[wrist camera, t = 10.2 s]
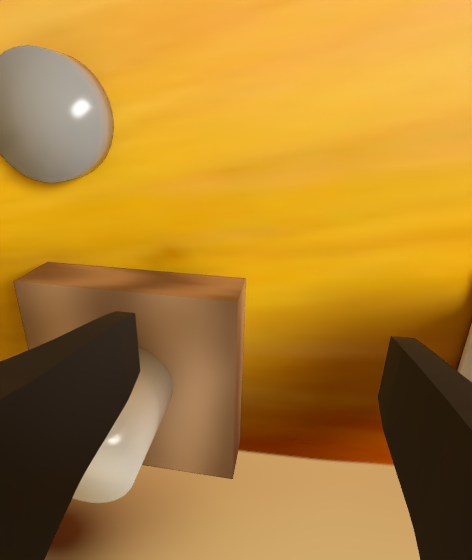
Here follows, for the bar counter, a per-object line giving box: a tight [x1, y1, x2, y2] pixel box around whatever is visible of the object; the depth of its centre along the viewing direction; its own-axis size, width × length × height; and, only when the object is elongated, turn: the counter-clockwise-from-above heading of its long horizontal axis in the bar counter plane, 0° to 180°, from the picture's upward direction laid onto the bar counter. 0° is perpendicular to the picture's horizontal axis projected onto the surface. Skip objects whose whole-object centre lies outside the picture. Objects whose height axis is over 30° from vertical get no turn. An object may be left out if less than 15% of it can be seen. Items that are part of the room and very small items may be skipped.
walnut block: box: [14, 262, 246, 479], centre depth 23 cm, size 12×12×3 cm
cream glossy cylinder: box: [73, 348, 173, 503], centre depth 19 cm, size 5×5×6 cm
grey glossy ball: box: [0, 45, 114, 183], centre depth 19 cm, size 6×6×2 cm
